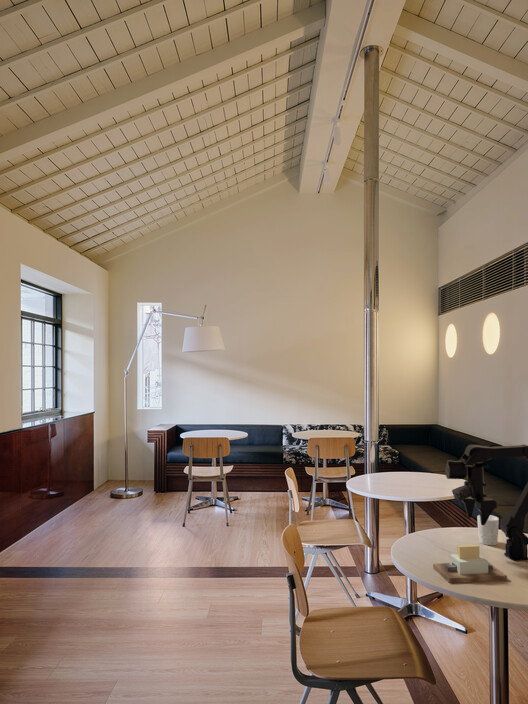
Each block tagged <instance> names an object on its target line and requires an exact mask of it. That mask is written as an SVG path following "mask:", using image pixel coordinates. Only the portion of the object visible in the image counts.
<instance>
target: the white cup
mask: <svg viewBox="0 0 528 704" xmlns="http://www.w3.org/2000/svg"><path fill="white" fill-rule="evenodd" d="M476 516H477V519H476V520H477V530H478V531H477V535H478V541H479V543H481V544H483V545H485V544H486V546H496V544H497V545H498V543H499V541H498V537H499V525H500V521H499V520H500V519H499V517H497V516H496V515H491V514H490V516H489V518H488V520H487V522H486V524H485V525H481V520H480V514H478V515H476Z"/></svg>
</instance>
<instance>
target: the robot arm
mask: <svg viewBox="0 0 528 704" xmlns="http://www.w3.org/2000/svg"><path fill="white" fill-rule="evenodd" d="M519 457H520V458H521V457H524V458H525V459H526V460H527V461H528V445H527V444H519V445H503V446H502V445H500V446H486V445H480V444H468V445H467V446H466V448H465V450H464V453H463V454H462V455H461V457H460V458H459V460H451V459H449V460H446V464H445V468H444V472H445V477H446V479H447V480H464V479H465V478H466V480H465V481H464V482H463V483H464V484H463V485H461V486H458V487H456V488H453V489H451V492H452V494H453V498H454V499H456V500H458V502H462V503H463V506H464V508H465V511H466V515H467V517H468V518H469V519H472V517H473V514H474V513H473V512H474V509H477V510H478V511H479V515H480V520H481V525H485V524H486V522H487V520H488V518H489V516H490V515H491V514H492V513H493V511H494V510H496V509H497V508H498V502H497V501H496V499H493V498H491V497H487V493H485V487H486V486H487V483H486V482H485V481H484V480H485V477H484V476H485V475H484V469H489V468H490V465H488V464H487V463H486V461H489V460H492V459H499V458H500V459H501V458H502V459H503V458H519ZM475 505H476V506H475ZM527 515H528V481H527V483H526V484H525V486H524V488H523V489H522V492H521V493H520V495H519V497H518V498H517V500H516V503H515V504H514V507H513V509H512V510H511V511H510V512H506V511H504V512H503V515H502V516H501V518H500V519H499V528H500V530H501V532H502V533H503V534H504V536H505V537H506V538H507V539H506V540H505V542H506V543H505V545H504V546H505V547H504V548H505V552H504V553H503V554H504V556H506V557H508V558H509V559H511V561H514V562H515V561H516V562H517V561H518V562H519V561H528V536H527V535H526V534H525V533H524V530H525V526H526V525H525V524H526V517H527Z"/></svg>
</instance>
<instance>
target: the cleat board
mask: <svg viewBox="0 0 528 704" xmlns="http://www.w3.org/2000/svg"><path fill="white" fill-rule="evenodd" d="M432 569H433V570H434V571H436V573H438V574H439V575H440V576H441V577H442V578H443V579H444V580H445V579H446V581H447V582H448V583H449V584H452V583H453V584H454V583H455V584H457V583H475V582H477V583H480V582H497V581H499V582H500V581H508V575H507V574H506V573H504V572H503V571H501V570H500V569H499V568H497V567H496V566H494V565H493V564H492V563H490V562H489V561H488V573H480V574H459V573H458V572H457V566H456V565H455V564H454V565H450V562H444V563H443V562H442V563H433V564H432Z"/></svg>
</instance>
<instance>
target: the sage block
mask: <svg viewBox="0 0 528 704" xmlns="http://www.w3.org/2000/svg"><path fill="white" fill-rule="evenodd" d="M488 562H489V560H488V559H486V558H485V557H483V556H482V555H480V545H478V544H460V545H459V544H457V553H452V554H450V553H449V563H450V565H454V564H455V565H456V566H457V572H458V573H459V574H480V573H488Z"/></svg>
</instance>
